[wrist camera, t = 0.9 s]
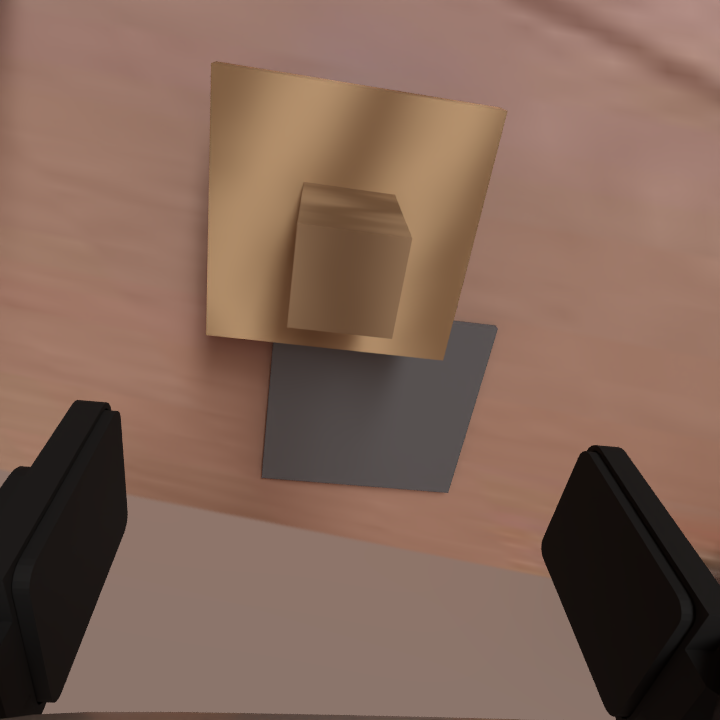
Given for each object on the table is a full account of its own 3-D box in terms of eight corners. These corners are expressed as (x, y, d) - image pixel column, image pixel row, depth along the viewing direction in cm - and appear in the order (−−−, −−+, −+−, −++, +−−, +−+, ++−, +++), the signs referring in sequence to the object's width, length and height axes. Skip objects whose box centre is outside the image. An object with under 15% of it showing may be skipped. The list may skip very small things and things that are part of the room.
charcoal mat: (495, 325, 37) (497, 329, 36) (446, 488, 44) (448, 492, 43) (277, 300, 35) (276, 303, 35) (262, 473, 42) (261, 477, 42)
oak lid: (499, 107, 25) (558, 134, 18) (439, 349, 30) (467, 431, 24) (216, 61, 23) (175, 74, 17) (210, 323, 29) (178, 404, 23)
